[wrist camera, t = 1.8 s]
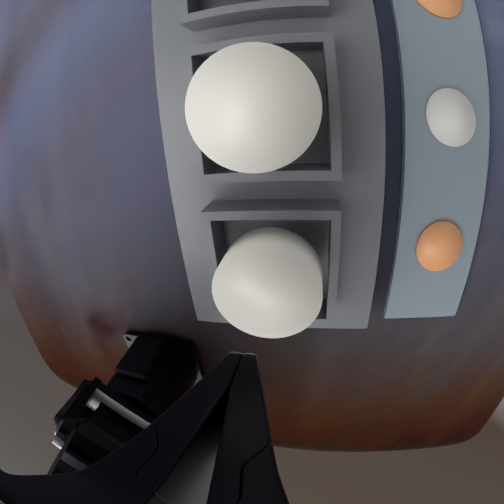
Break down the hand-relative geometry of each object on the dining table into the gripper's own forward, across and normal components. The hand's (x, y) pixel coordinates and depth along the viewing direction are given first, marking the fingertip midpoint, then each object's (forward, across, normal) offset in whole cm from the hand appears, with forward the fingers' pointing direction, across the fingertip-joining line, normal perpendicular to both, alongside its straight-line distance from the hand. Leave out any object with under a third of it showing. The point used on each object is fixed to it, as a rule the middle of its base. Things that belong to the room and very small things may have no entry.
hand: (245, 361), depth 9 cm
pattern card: (+9, -9, -7) cm, 14 cm away
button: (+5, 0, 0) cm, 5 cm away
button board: (+9, 0, -7) cm, 11 cm away
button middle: (+5, 0, -7) cm, 9 cm away
